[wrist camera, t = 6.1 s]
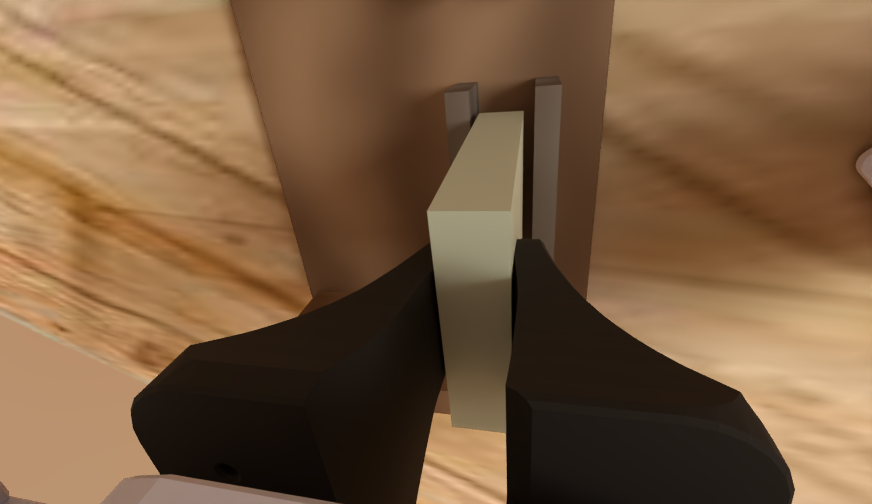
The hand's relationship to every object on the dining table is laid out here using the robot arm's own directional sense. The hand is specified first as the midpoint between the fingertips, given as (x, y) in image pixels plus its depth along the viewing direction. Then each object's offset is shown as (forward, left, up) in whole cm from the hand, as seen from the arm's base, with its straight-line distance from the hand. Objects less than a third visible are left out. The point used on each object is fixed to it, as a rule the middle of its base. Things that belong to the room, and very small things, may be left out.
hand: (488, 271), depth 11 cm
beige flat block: (0, 0, -5) cm, 5 cm away
